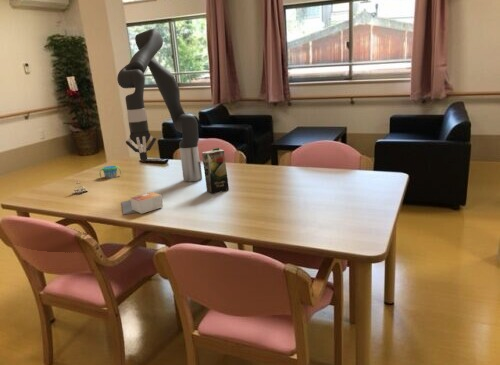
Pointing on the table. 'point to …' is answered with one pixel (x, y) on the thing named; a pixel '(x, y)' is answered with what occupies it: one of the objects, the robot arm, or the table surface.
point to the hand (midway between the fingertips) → (144, 160)
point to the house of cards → (80, 189)
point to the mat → (127, 208)
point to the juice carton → (215, 171)
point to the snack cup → (110, 171)
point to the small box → (146, 202)
